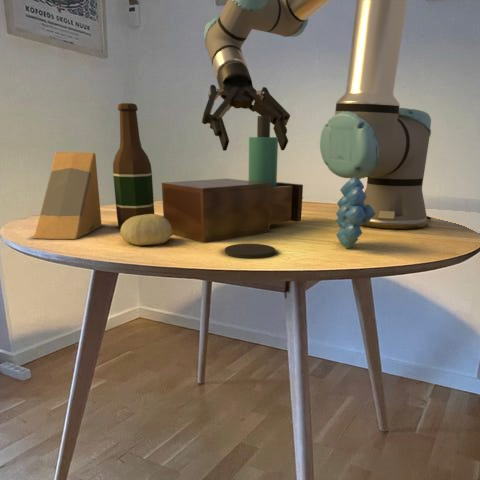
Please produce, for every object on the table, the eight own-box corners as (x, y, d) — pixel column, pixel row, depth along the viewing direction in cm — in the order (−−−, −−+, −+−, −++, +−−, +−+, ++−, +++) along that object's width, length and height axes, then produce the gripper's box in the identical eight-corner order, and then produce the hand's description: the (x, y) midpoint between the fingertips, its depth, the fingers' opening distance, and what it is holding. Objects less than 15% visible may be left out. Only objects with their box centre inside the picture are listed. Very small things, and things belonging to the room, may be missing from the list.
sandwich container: (31, 238, 88) (18, 154, 82) (64, 224, 102) (54, 151, 97) (76, 239, 87) (66, 154, 82) (102, 225, 102) (95, 152, 96)
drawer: (274, 213, 113) (276, 179, 110) (314, 219, 104) (316, 183, 102) (210, 221, 101) (209, 184, 98) (248, 229, 92) (248, 189, 90)
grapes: (380, 256, 76) (389, 179, 72) (338, 255, 76) (345, 179, 72) (364, 241, 87) (371, 174, 83) (328, 240, 87) (333, 173, 83)
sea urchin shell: (107, 231, 85) (133, 196, 86) (137, 256, 90) (160, 224, 91) (131, 238, 78) (158, 201, 80) (162, 266, 84) (187, 230, 85)
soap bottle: (262, 212, 106) (264, 116, 99) (281, 216, 102) (284, 116, 95) (242, 215, 102) (243, 116, 95) (261, 218, 98) (263, 115, 91)
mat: (251, 244, 84) (251, 241, 84) (285, 253, 78) (285, 249, 78) (214, 251, 79) (214, 248, 78) (247, 260, 73) (247, 257, 73)
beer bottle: (162, 226, 101) (155, 104, 92) (138, 231, 95) (128, 101, 86) (135, 222, 105) (126, 105, 96) (110, 228, 98) (98, 102, 90)
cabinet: (227, 222, 105) (227, 178, 102) (269, 231, 96) (270, 183, 92) (164, 231, 95) (161, 182, 92) (204, 242, 85) (202, 188, 82)
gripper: (276, 91, 115) (301, 157, 108) (177, 87, 107) (196, 158, 99) (286, 63, 109) (314, 132, 101) (182, 57, 100) (203, 131, 93)
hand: (256, 145), depth 100 cm, fingers open, 13 cm apart
